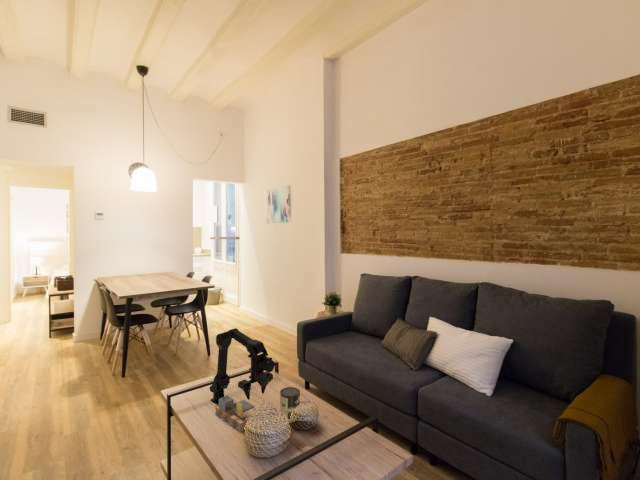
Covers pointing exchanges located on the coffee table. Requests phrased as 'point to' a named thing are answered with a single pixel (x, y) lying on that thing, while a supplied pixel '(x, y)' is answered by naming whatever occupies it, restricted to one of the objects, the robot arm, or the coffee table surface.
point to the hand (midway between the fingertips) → (255, 396)
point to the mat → (244, 405)
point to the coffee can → (289, 400)
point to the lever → (239, 410)
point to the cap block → (226, 403)
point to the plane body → (232, 418)
